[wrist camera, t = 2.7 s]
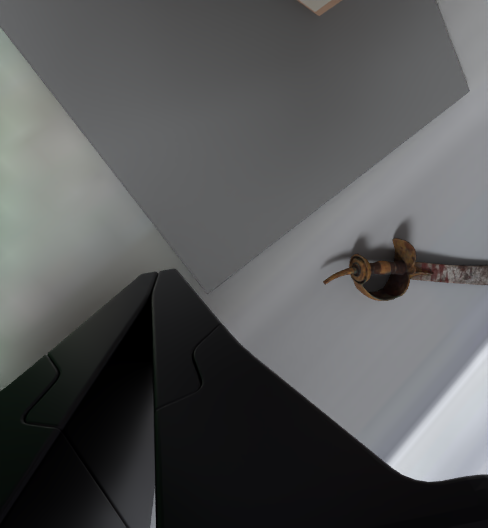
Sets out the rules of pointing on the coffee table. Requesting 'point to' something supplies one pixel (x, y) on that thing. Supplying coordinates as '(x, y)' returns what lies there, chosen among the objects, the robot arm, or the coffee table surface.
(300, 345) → the coffee table surface
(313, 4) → the tile
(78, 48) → the mat
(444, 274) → the sword
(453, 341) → the coffee table surface
